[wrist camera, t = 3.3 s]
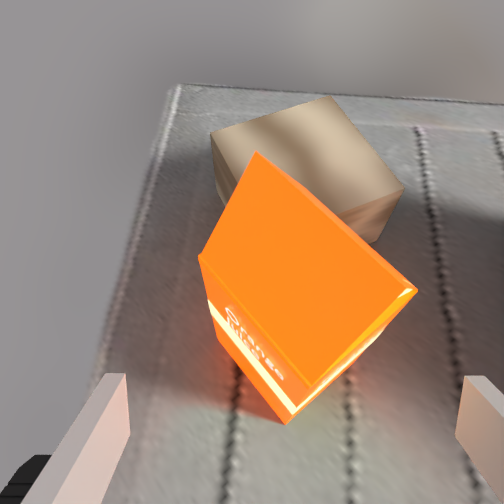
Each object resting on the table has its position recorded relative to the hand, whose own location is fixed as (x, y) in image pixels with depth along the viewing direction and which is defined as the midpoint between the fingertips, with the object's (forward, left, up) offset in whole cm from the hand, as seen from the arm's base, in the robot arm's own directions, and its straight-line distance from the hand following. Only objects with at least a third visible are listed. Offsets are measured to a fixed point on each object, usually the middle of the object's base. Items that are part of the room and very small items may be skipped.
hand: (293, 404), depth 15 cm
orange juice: (-4, -6, -17) cm, 18 cm away
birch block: (-11, -18, -17) cm, 27 cm away
